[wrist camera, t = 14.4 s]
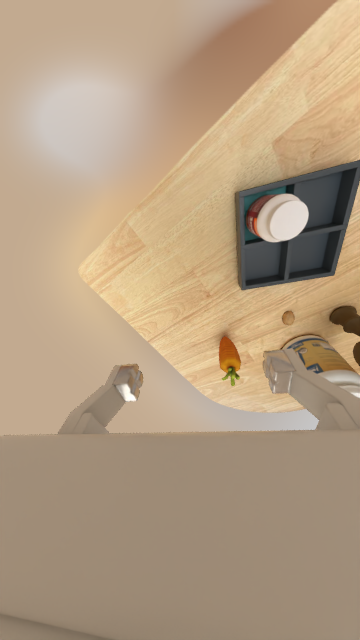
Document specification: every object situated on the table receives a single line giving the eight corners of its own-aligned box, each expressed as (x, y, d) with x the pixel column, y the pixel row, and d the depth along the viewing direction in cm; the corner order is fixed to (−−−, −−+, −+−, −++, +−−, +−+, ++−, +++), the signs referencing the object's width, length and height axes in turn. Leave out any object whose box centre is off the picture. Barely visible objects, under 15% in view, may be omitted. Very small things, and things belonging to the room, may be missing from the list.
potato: (294, 309, 43) (297, 313, 41) (293, 322, 45) (296, 326, 43) (282, 311, 43) (285, 315, 42) (281, 324, 45) (284, 328, 44)
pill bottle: (237, 218, 32) (253, 224, 23) (266, 186, 29) (297, 178, 20) (258, 242, 34) (281, 255, 25) (287, 213, 31) (325, 217, 22)
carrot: (228, 345, 51) (239, 391, 38) (212, 340, 50) (218, 385, 38) (236, 332, 48) (250, 378, 35) (220, 327, 47) (228, 371, 35)
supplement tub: (287, 331, 46) (326, 387, 32) (335, 334, 45) (397, 391, 31) (273, 363, 53) (301, 420, 39) (315, 365, 52) (358, 425, 38)
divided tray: (234, 192, 31) (239, 191, 28) (347, 163, 28) (365, 158, 25) (238, 283, 40) (241, 290, 37) (323, 269, 37) (334, 275, 34)
